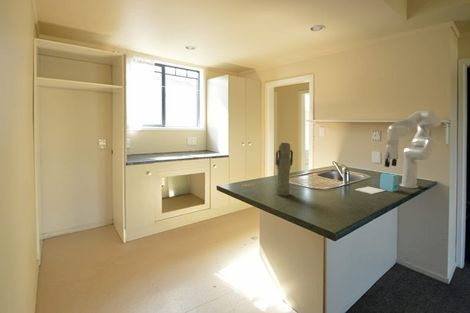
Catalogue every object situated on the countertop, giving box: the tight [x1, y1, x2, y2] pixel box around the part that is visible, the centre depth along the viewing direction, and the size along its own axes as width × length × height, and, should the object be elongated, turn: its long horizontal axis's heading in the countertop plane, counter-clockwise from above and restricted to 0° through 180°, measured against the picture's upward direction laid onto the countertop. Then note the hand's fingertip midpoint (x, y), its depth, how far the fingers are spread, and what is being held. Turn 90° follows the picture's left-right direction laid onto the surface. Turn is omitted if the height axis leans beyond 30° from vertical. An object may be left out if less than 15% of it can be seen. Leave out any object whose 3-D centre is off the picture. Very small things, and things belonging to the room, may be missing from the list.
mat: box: [354, 186, 386, 195], centre depth 198 cm, size 18×13×1 cm
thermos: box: [275, 142, 294, 197], centre depth 182 cm, size 9×12×35 cm
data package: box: [379, 172, 400, 193], centre depth 200 cm, size 12×4×12 cm, turn 17°
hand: (390, 166), depth 199 cm, fingers open, 9 cm apart
